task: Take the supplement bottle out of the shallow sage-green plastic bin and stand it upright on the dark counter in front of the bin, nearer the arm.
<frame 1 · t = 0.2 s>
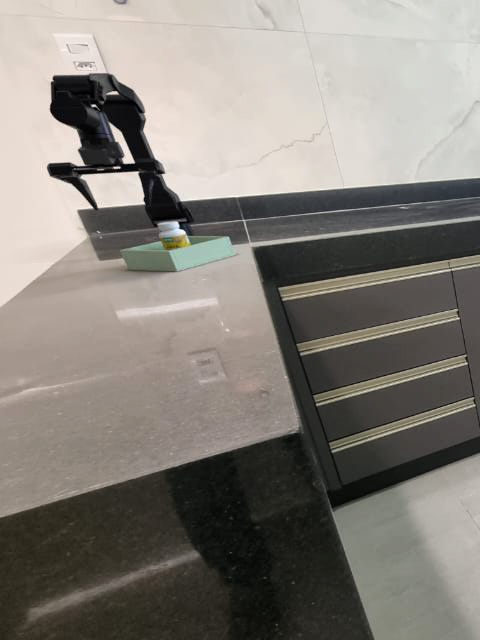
hand: (123, 208, 122), 15 cm above the counter, tool pointing down, fingers open, 9 cm apart
supplement bottle: (183, 261, 136), resting on bin
bin: (184, 262, 136), on the counter
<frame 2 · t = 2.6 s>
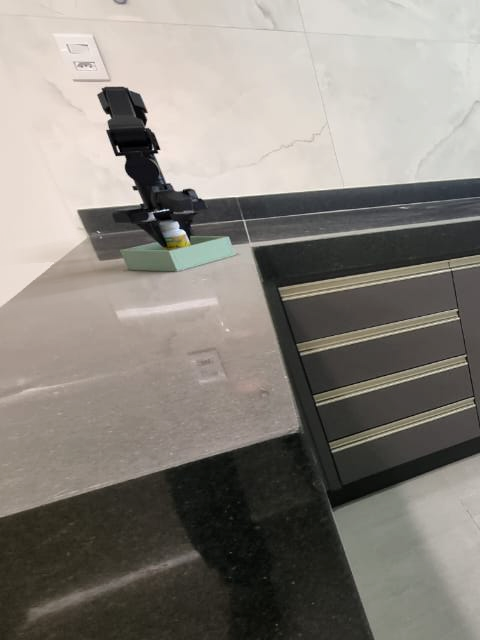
hand: (176, 244, 134), 5 cm above the counter, tool pointing down, fingers closed on supplement bottle, 5 cm apart
supplement bottle: (183, 261, 136), resting on bin, touching gripper
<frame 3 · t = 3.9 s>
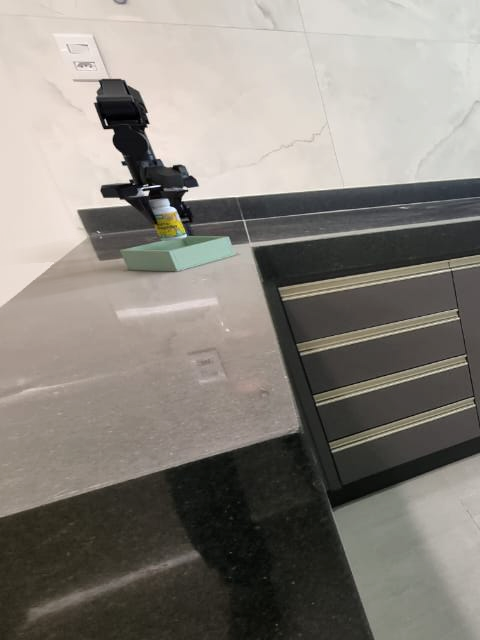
hand: (167, 222, 131), 10 cm above the counter, tool pointing down, fingers closed on supplement bottle, 5 cm apart
supplement bottle: (174, 239, 133), point 6 cm above the counter, touching gripper
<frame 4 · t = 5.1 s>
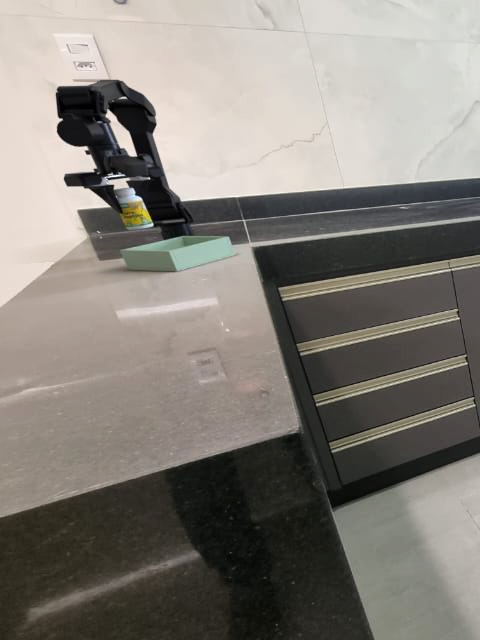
hand: (132, 211, 133), 13 cm above the counter, tool pointing down, fingers closed on supplement bottle, 5 cm apart
supplement bottle: (140, 228, 135), point 8 cm above the counter, touching gripper
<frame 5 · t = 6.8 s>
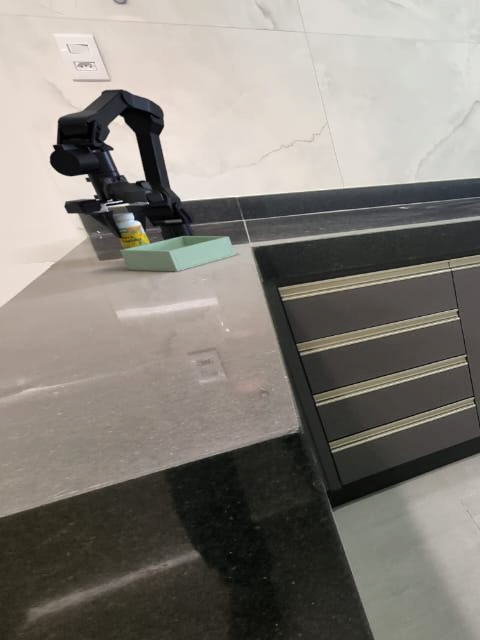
hand: (132, 235, 136), 7 cm above the counter, tool pointing down, fingers closed on supplement bottle, 5 cm apart
supplement bottle: (139, 252, 138), point 2 cm above the counter, touching gripper
when the fingers open (4 cm above the counter, at t = 8.0 s): supplement bottle stays where it is, on the counter.
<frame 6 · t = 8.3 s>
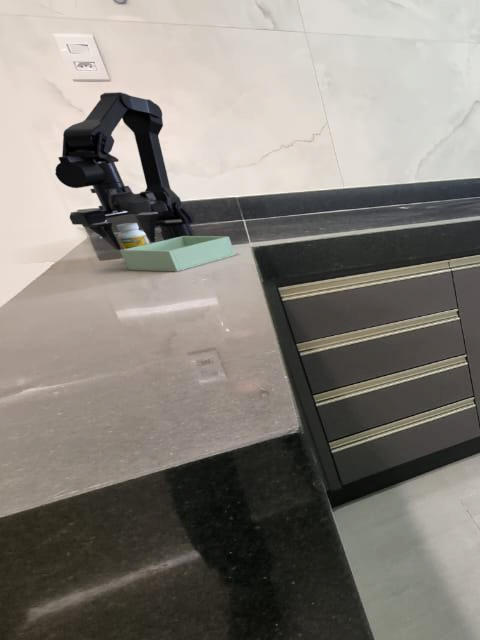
hand: (136, 245, 137), 4 cm above the counter, tool pointing down, fingers open, 8 cm apart
supplement bottle: (144, 261, 139), on the counter
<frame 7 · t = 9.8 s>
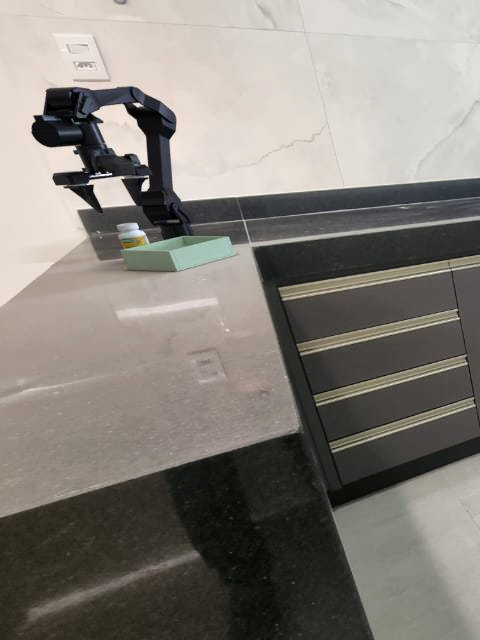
hand: (120, 209, 136), 13 cm above the counter, tool pointing down, fingers open, 9 cm apart
nothing on the counter moved.
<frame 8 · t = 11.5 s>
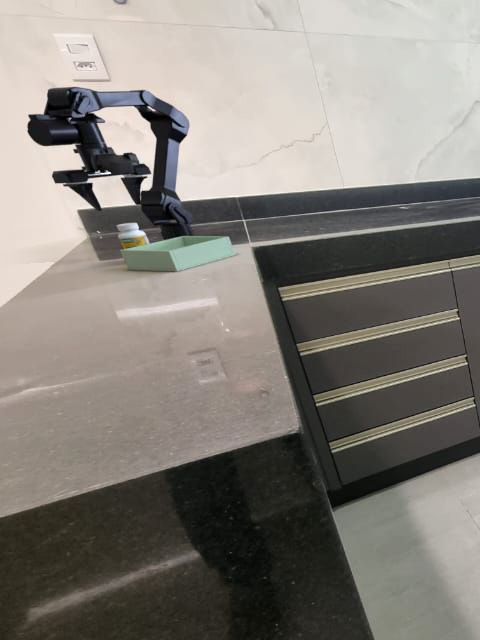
hand: (119, 207, 138), 13 cm above the counter, tool pointing down, fingers open, 9 cm apart
nothing on the counter moved.
at the end: supplement bottle inside the target area (0.2 cm from its centre), on the counter; supplement bottle tilted 0°; the gripper is holding nothing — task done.
